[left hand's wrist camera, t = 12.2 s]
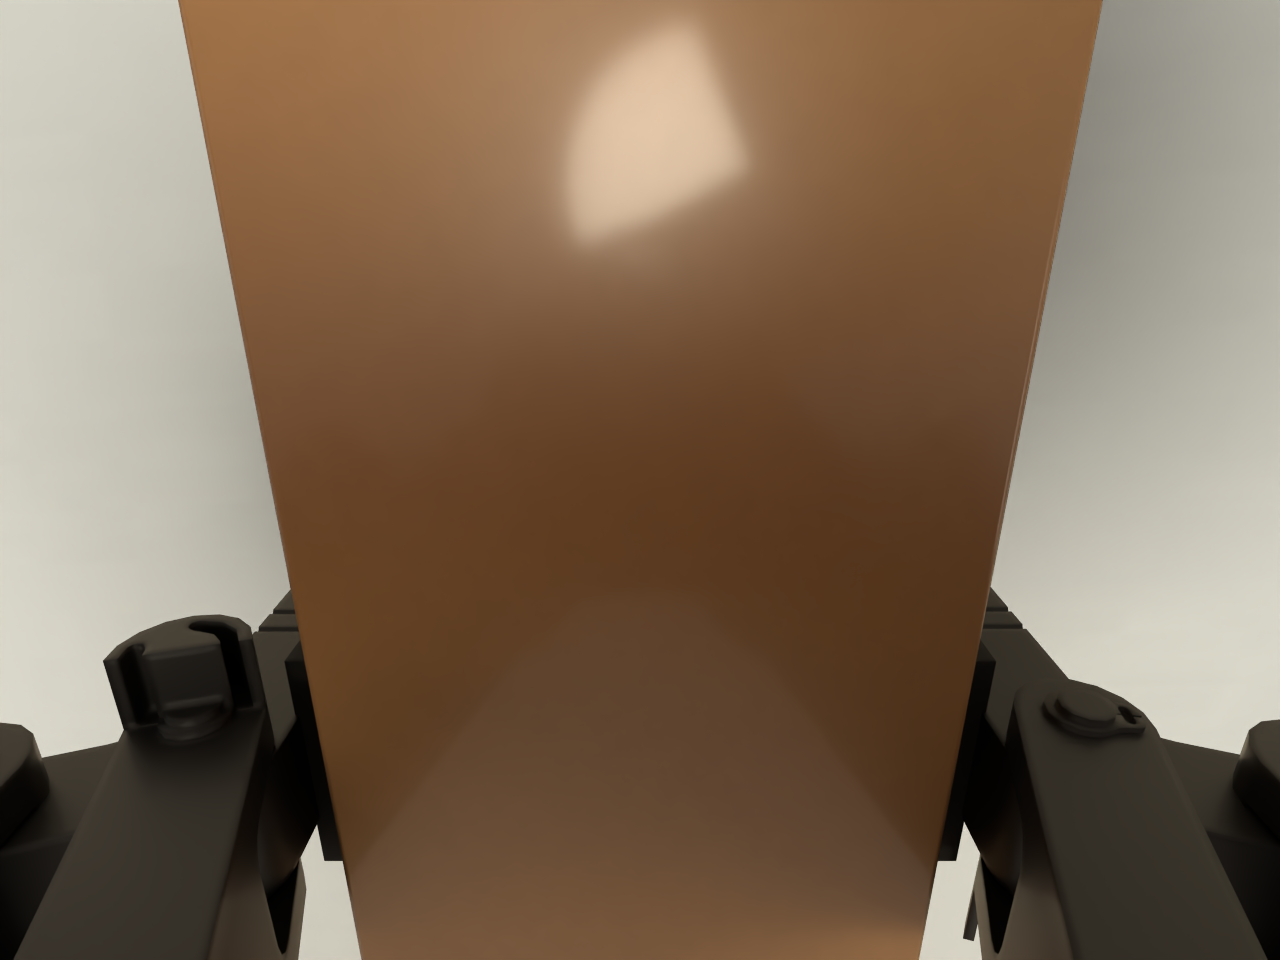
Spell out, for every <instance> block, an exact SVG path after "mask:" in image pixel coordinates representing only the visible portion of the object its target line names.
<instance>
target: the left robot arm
mask: <svg viewBox="0 0 1280 960" xmlns="http://www.w3.org/2000/svg"><path fill="white" fill-rule="evenodd" d="M103 663H104V666H105V669H106V673H107V676H108V679H109V683H110V686H111V689H112V692H113V696H114V699H115V702H116V705H117V709H118V712H119V715H120V719H121V722H122V725H123V728H124V731H123V733H122V735H121V737H120V739H119V741H118V742H115V743H112V744H108V745H103V746H98V747H93V748H88V749H84V750H79V751H74V752H69V753H64V754H59V755H54V756H49V757H44V758H42V757H41V754H40V752H39V749H38V746H37V743H36V741H35V738H34V735H33V733H31V732H30V731H29V730H27V729H26V728H24V727H23V726H22V725H17V724H7V723H0V960H298V956H299V947H300V939H301V930H302V922H303V913H304V905H305V896H306V884H305V877H304V871H303V867H302V862H301V858H300V857H301V855H302V853H303V851H304V849H305V847H306V845H307V843H308V841H309V839H310V837H311V835H312V833H313V831H314V829H315V827H316V825H317V826H318V831H319V836H320V841H321V846H322V851H323V856H324V861H343V860H342V854H341V849H340V844H339V839H338V833H337V828H336V823H335V818H334V812H333V807H332V802H331V797H330V792H329V786H328V781H327V776H326V771H325V765H324V760H323V755H322V750H321V744H320V739H319V734H318V729H317V724H316V718H315V713H314V708H313V703H312V697H311V692H310V687H309V682H308V676H307V671H306V666H305V661H304V656H303V650H302V645H301V640H300V635H299V629H298V624H297V619H296V614H295V608H294V603H293V598H292V593H291V590H290V591H289V592H288V593H287V594H286V596H285V597H284V598H283V599H282V600H281V601H280V603H279V604H278V605H277V606H276V607H275V609H274V610H273V614H270V615H269V616H268V617H267V618H266V619H265V620H264V622H263V623H262V624H261V625H260V626H259V631H258V632H254V633H253V635H252V632H251V627H250V626H249V625H247V624H246V623H245V622H243V621H242V620H241V619H239V618H235V617H230V616H224V615H200V616H191V617H186V618H182V619H177V620H173V621H168V622H165V623H162V624H160V625H157V626H155V627H152V628H149V629H147V630H144V631H142V632H139V633H138V634H136V635H134V636H133V637H131V638H129V639H128V640H126V641H124V642H123V643H121V644H119V645H118V646H117V647H116V648H115V649H114V650H113V651H112V652H111V653H110V654H109V655H108V656H107V657H106V658H105V659H104V660H103ZM964 822H965V824H966V826H967V828H968V830H969V832H970V834H971V836H972V838H973V840H974V842H975V844H976V846H977V848H978V850H979V852H980V858H979V862H978V867H977V871H976V876H975V881H974V885H973V890H972V895H971V899H970V904H969V908H968V913H967V918H966V922H965V929H964V935H963V939H967V940H971V941H974V937H975V933H976V929H977V924H978V928H979V937H980V945H981V953H982V960H1280V720H1271V721H1262V722H1260V723H1258V724H1257V725H1256V726H1254V727H1253V728H1251V729H1250V730H1249V732H1248V734H1247V737H1246V740H1245V743H1244V745H1243V748H1242V751H1241V754H1240V755H1239V754H1234V753H1229V752H1224V751H1219V750H1214V749H1209V748H1204V747H1199V746H1194V745H1189V744H1184V743H1179V742H1175V741H1171V740H1167V739H1163V738H1160V736H1159V734H1158V731H1157V729H1156V728H1155V727H1154V725H1153V724H1152V723H1151V722H1150V720H1149V719H1148V718H1147V717H1146V715H1145V714H1144V713H1143V712H1142V711H1140V710H1139V709H1138V708H1136V707H1135V706H1133V705H1132V704H1131V703H1129V702H1128V701H1126V700H1125V699H1124V698H1122V697H1120V696H1118V695H1115V694H1113V693H1111V692H1109V691H1106V690H1104V689H1102V688H1100V687H1098V686H1094V685H1090V684H1086V683H1082V682H1079V681H1075V680H1071V679H1068V678H1067V676H1066V675H1065V674H1064V673H1063V672H1062V670H1061V669H1060V668H1059V667H1058V666H1057V665H1056V663H1055V662H1054V661H1053V660H1052V659H1051V658H1050V656H1049V655H1048V654H1047V653H1046V652H1045V650H1044V649H1043V648H1042V647H1041V646H1040V645H1039V643H1038V642H1037V641H1036V640H1035V639H1034V638H1033V636H1032V635H1031V634H1030V633H1029V632H1028V630H1027V629H1023V627H1022V623H1021V622H1020V621H1019V620H1018V619H1017V618H1016V616H1015V615H1014V614H1013V613H1012V612H1008V607H1007V606H1006V605H1005V603H1004V602H1003V601H1002V600H1001V599H1000V598H999V596H998V595H997V594H996V593H995V592H994V590H993V589H992V588H991V587H990V591H989V596H988V601H987V607H986V612H985V617H984V622H983V628H982V633H981V638H980V643H979V648H978V654H977V659H976V664H975V669H974V674H973V680H972V685H971V690H970V695H969V700H968V706H967V711H966V716H965V721H964V727H963V732H962V737H961V742H960V747H959V753H958V758H957V763H956V768H955V773H954V779H953V784H952V789H951V794H950V800H949V805H948V810H947V815H946V820H945V826H944V831H943V836H942V841H941V846H940V852H939V857H938V861H956V859H957V854H958V849H959V844H960V839H961V834H962V829H963V824H964Z"/></svg>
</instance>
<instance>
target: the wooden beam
mask: <svg viewBox="0 0 1280 960" xmlns="http://www.w3.org/2000/svg"><path fill="white" fill-rule="evenodd" d="M178 2H179V7H180V12H181V17H182V23H183V28H184V33H185V38H186V43H187V49H188V54H189V59H190V64H191V70H192V75H193V80H194V85H195V91H196V96H197V101H198V106H199V111H200V117H201V122H202V127H203V132H204V138H205V143H206V148H207V153H208V159H209V164H210V169H211V174H212V180H213V185H214V190H215V195H216V200H217V206H218V211H219V216H220V221H221V227H222V232H223V237H224V242H225V248H226V253H227V258H228V263H229V268H230V274H231V279H232V284H233V289H234V295H235V300H236V305H237V310H238V316H239V321H240V326H241V331H242V336H243V342H244V347H245V352H246V357H247V363H248V368H249V373H250V378H251V384H252V389H253V394H254V399H255V404H256V410H257V415H258V420H259V425H260V431H261V436H262V441H263V446H264V452H265V457H266V462H267V467H268V472H269V478H270V483H271V488H272V493H273V499H274V504H275V509H276V514H277V520H278V525H279V530H280V535H281V540H282V546H283V551H284V556H285V561H286V567H287V572H288V577H289V582H290V588H291V593H292V598H293V603H294V608H295V614H296V619H297V624H298V629H299V635H300V640H301V645H302V650H303V656H304V661H305V666H306V671H307V676H308V682H309V687H310V692H311V697H312V703H313V708H314V713H315V718H316V724H317V729H318V734H319V739H320V744H321V750H322V755H323V760H324V765H325V771H326V776H327V781H328V786H329V792H330V797H331V802H332V807H333V812H334V818H335V823H336V828H337V833H338V839H339V844H340V849H341V854H342V860H343V865H344V870H345V875H346V880H347V886H348V891H349V896H350V901H351V907H352V912H353V917H354V922H355V928H356V933H357V938H358V943H359V948H360V954H361V959H362V960H919V956H920V951H921V945H922V940H923V935H924V930H925V925H926V919H927V914H928V909H929V904H930V899H931V893H932V888H933V883H934V878H935V873H936V867H937V862H938V857H939V852H940V846H941V841H942V836H943V831H944V826H945V820H946V815H947V810H948V805H949V800H950V794H951V789H952V784H953V779H954V773H955V768H956V763H957V758H958V753H959V747H960V742H961V737H962V732H963V727H964V721H965V716H966V711H967V706H968V700H969V695H970V690H971V685H972V680H973V674H974V669H975V664H976V659H977V654H978V648H979V643H980V638H981V633H982V628H983V622H984V617H985V612H986V607H987V601H988V596H989V591H990V586H991V581H992V575H993V570H994V565H995V560H996V555H997V549H998V544H999V539H1000V534H1001V528H1002V523H1003V518H1004V513H1005V508H1006V502H1007V497H1008V492H1009V487H1010V482H1011V476H1012V471H1013V466H1014V461H1015V456H1016V450H1017V445H1018V440H1019V435H1020V429H1021V424H1022V419H1023V414H1024V409H1025V403H1026V398H1027V393H1028V388H1029V383H1030V377H1031V372H1032V367H1033V362H1034V356H1035V351H1036V346H1037V341H1038V336H1039V330H1040V325H1041V320H1042V315H1043V310H1044V304H1045V299H1046V294H1047V289H1048V283H1049V278H1050V273H1051V268H1052V263H1053V257H1054V252H1055V247H1056V242H1057V237H1058V231H1059V226H1060V221H1061V216H1062V211H1063V205H1064V200H1065V195H1066V190H1067V184H1068V179H1069V174H1070V169H1071V164H1072V158H1073V153H1074V148H1075V143H1076V138H1077V132H1078V127H1079V122H1080V117H1081V111H1082V106H1083V101H1084V96H1085V91H1086V85H1087V80H1088V75H1089V70H1090V65H1091V59H1092V54H1093V49H1094V44H1095V38H1096V33H1097V28H1098V23H1099V18H1100V12H1101V7H1102V2H1103V0H178Z"/></svg>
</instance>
